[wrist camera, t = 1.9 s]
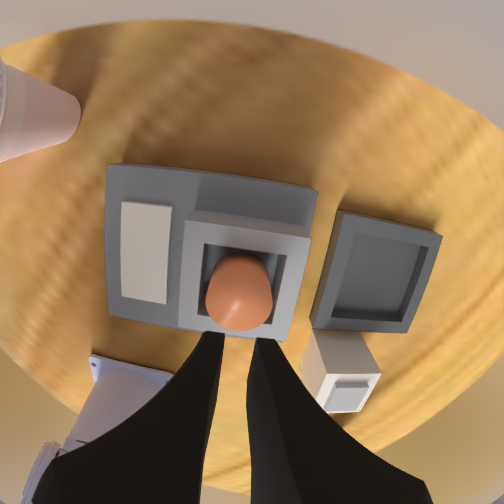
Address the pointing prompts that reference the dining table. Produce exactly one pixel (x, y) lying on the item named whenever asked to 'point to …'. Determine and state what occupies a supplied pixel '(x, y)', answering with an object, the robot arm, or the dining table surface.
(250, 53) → the dining table surface
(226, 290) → the button
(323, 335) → the block
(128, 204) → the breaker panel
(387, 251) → the tray
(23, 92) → the smoothie
